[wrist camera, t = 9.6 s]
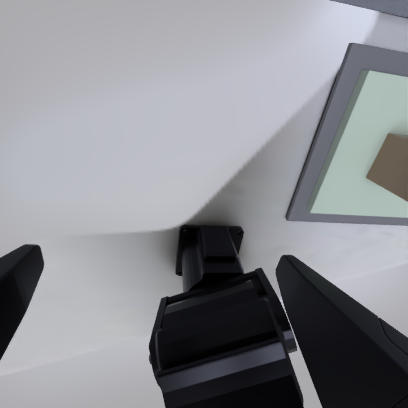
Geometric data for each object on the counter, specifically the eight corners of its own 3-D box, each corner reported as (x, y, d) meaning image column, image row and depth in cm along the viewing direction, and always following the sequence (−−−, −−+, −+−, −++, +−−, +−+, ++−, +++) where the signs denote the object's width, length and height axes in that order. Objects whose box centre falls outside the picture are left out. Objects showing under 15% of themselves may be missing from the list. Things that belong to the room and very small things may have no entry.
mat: (407, 223, 27) (411, 225, 26) (285, 218, 24) (287, 220, 24) (509, 73, 19) (515, 73, 19) (349, 43, 17) (352, 42, 16)
